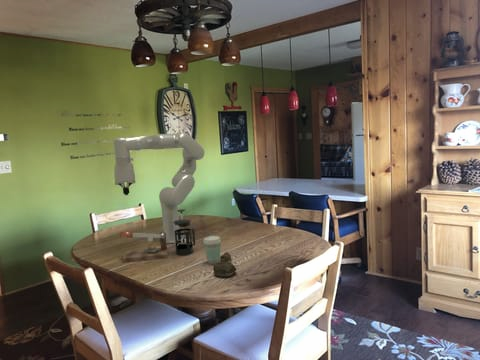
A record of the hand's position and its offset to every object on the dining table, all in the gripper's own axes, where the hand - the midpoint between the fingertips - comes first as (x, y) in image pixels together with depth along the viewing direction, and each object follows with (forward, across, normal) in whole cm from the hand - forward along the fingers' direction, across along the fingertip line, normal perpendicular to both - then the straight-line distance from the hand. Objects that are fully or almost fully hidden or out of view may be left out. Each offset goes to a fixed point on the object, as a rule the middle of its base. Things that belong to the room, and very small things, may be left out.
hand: (126, 194), depth 203 cm
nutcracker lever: (+22, -8, +14) cm, 27 cm away
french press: (+31, -29, +14) cm, 45 cm away
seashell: (+31, -44, +52) cm, 75 cm away
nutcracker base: (+31, -9, +14) cm, 35 cm away
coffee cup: (+31, -42, +34) cm, 62 cm away
